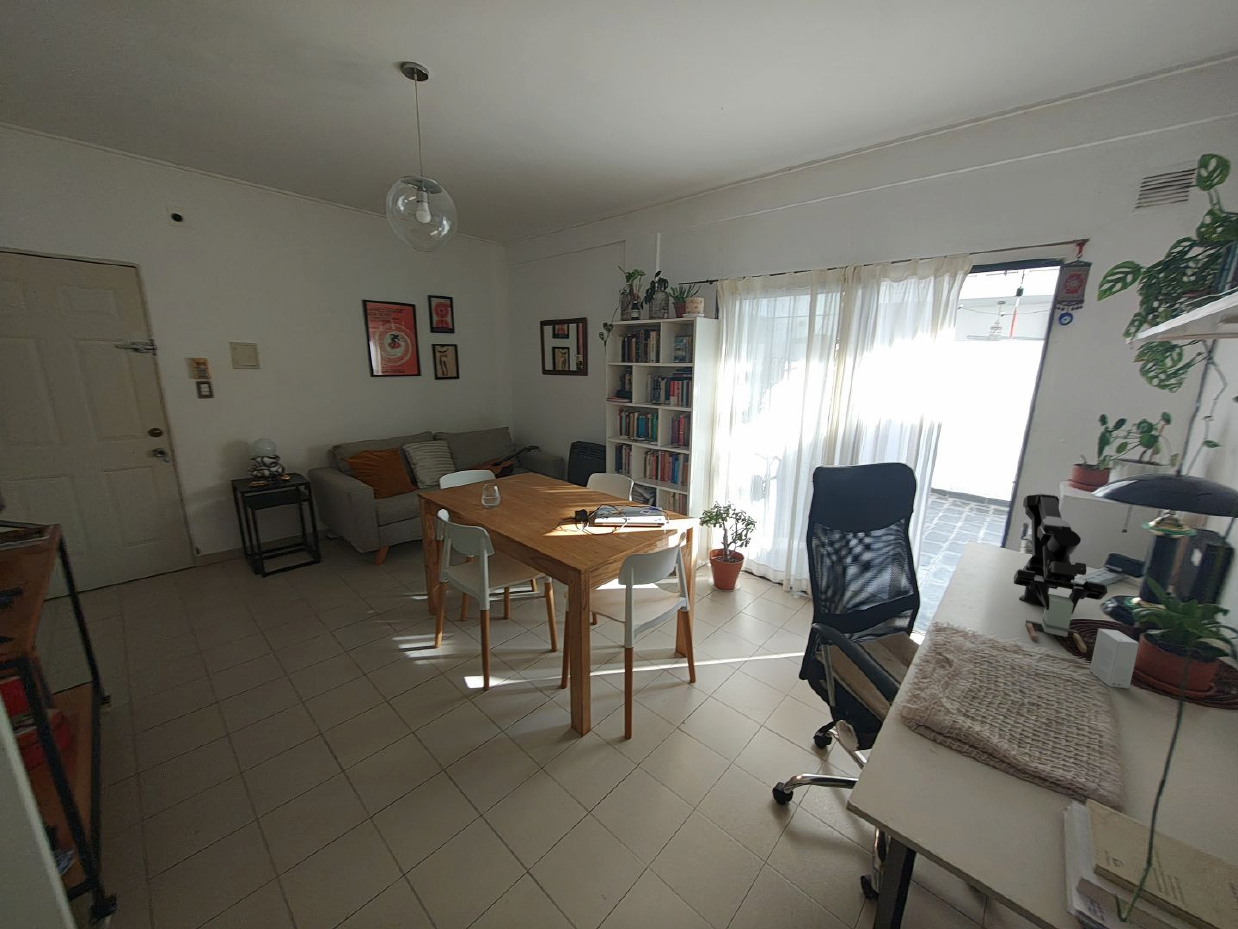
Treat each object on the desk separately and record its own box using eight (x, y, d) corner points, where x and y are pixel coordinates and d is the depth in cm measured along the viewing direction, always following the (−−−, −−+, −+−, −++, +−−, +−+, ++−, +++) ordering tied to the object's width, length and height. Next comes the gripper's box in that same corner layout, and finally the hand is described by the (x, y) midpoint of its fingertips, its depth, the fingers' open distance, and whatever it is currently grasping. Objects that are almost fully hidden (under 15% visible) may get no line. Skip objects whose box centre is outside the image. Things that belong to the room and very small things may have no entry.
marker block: (1041, 625, 131) (1047, 593, 129) (1063, 629, 129) (1069, 597, 127) (1045, 632, 127) (1051, 599, 126) (1067, 637, 125) (1073, 604, 123)
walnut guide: (1025, 625, 134) (1026, 619, 134) (1076, 636, 128) (1077, 631, 128) (1031, 640, 126) (1032, 634, 126) (1085, 653, 120) (1087, 647, 120)
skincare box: (1130, 689, 106) (1140, 643, 104) (1108, 687, 107) (1118, 641, 105) (1108, 673, 112) (1117, 629, 110) (1088, 671, 113) (1097, 628, 111)
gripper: (1021, 543, 132) (1022, 592, 125) (1112, 556, 122) (1118, 611, 115) (1013, 559, 140) (1013, 606, 133) (1097, 573, 130) (1102, 625, 123)
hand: (1059, 611), depth 126 cm, fingers closed on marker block, 4 cm apart
